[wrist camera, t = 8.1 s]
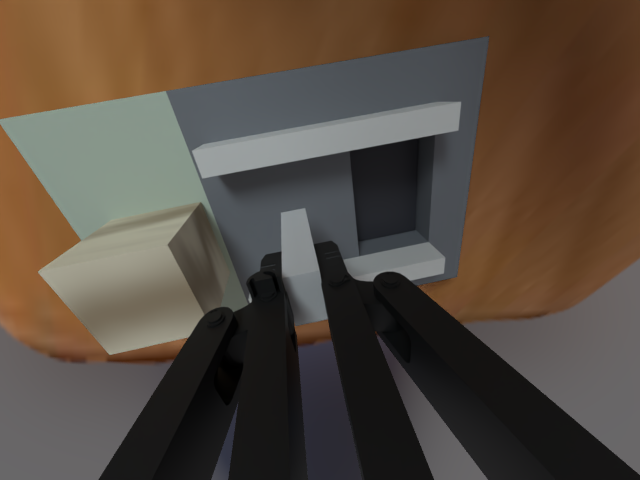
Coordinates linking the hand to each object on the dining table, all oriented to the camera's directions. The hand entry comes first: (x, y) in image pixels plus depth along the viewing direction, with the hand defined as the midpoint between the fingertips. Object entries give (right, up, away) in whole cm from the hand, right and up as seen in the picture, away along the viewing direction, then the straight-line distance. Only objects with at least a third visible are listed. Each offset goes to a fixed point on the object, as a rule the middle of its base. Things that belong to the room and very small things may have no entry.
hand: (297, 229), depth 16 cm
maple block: (-9, -1, +2) cm, 9 cm away
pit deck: (-1, +2, +5) cm, 5 cm away
